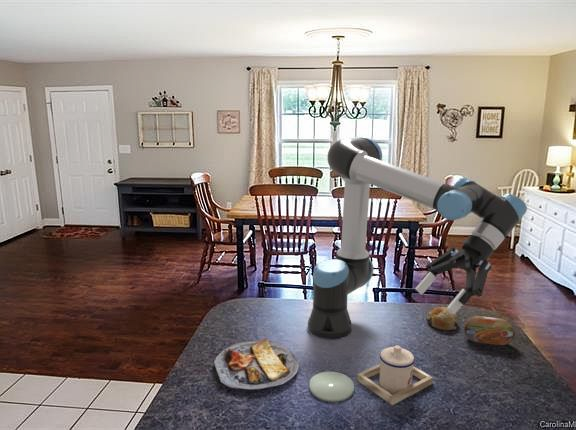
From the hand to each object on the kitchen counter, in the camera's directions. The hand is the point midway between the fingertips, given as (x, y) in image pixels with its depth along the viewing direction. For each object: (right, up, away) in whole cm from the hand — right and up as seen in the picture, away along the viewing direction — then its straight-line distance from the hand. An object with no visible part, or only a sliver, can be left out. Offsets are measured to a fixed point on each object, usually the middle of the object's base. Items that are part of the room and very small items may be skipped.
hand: (433, 301), depth 119 cm
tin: (+25, -18, +24) cm, 39 cm away
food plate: (-49, -22, +9) cm, 54 cm away
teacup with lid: (-10, -23, +2) cm, 25 cm away
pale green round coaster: (-28, -23, -1) cm, 36 cm away
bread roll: (+15, -15, +35) cm, 41 cm away
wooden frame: (-10, -23, +2) cm, 25 cm away
